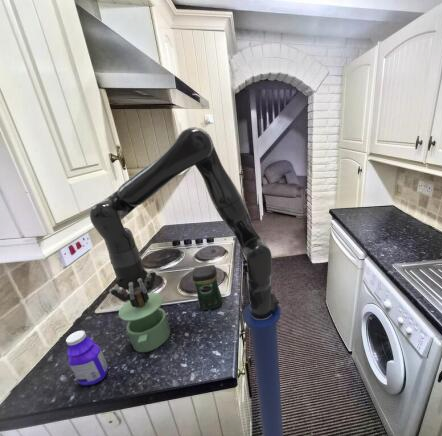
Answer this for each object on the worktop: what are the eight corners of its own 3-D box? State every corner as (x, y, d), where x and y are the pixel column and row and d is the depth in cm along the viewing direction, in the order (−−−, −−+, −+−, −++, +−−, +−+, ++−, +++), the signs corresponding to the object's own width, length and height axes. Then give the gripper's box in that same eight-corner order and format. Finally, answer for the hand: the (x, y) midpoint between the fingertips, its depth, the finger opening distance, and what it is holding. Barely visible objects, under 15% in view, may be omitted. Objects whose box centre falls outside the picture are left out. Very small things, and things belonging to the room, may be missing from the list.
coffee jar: (222, 296, 104) (216, 261, 97) (222, 308, 97) (215, 271, 90) (200, 300, 102) (192, 264, 95) (197, 312, 95) (189, 275, 88)
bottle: (113, 365, 74) (95, 325, 68) (104, 383, 69) (83, 341, 63) (87, 371, 73) (66, 330, 67) (76, 389, 68) (52, 347, 61)
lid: (165, 291, 87) (161, 277, 84) (160, 315, 75) (155, 299, 73) (125, 300, 83) (120, 285, 80) (114, 327, 71) (107, 311, 69)
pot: (172, 316, 94) (168, 299, 91) (167, 351, 79) (161, 333, 75) (139, 324, 90) (133, 308, 87) (126, 364, 75) (119, 345, 72)
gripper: (103, 275, 65) (121, 321, 71) (154, 255, 75) (166, 297, 81) (96, 266, 69) (113, 310, 76) (145, 248, 79) (157, 288, 86)
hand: (141, 303), depth 78 cm, fingers closed on lid, 2 cm apart
